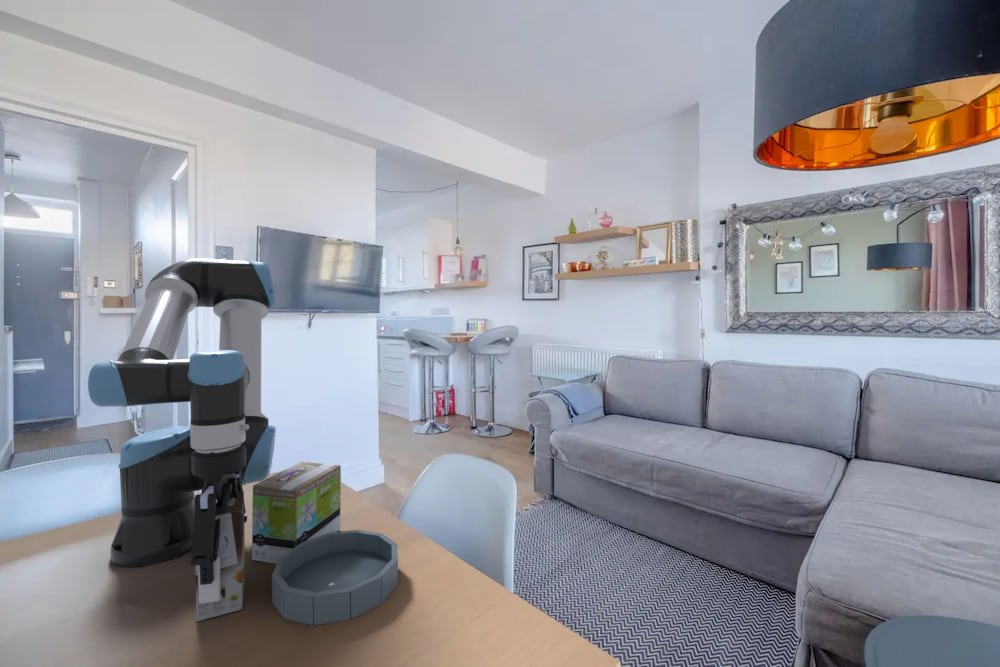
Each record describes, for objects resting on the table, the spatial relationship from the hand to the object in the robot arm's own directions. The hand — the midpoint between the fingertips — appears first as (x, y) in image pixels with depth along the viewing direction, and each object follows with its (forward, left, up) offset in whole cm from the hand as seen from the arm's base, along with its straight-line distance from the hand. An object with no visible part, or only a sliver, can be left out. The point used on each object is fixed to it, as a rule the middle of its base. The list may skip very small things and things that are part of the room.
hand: (222, 580), depth 72 cm
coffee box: (0, 0, -3) cm, 3 cm away
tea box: (-16, +9, -4) cm, 19 cm away
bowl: (0, +18, -3) cm, 18 cm away
